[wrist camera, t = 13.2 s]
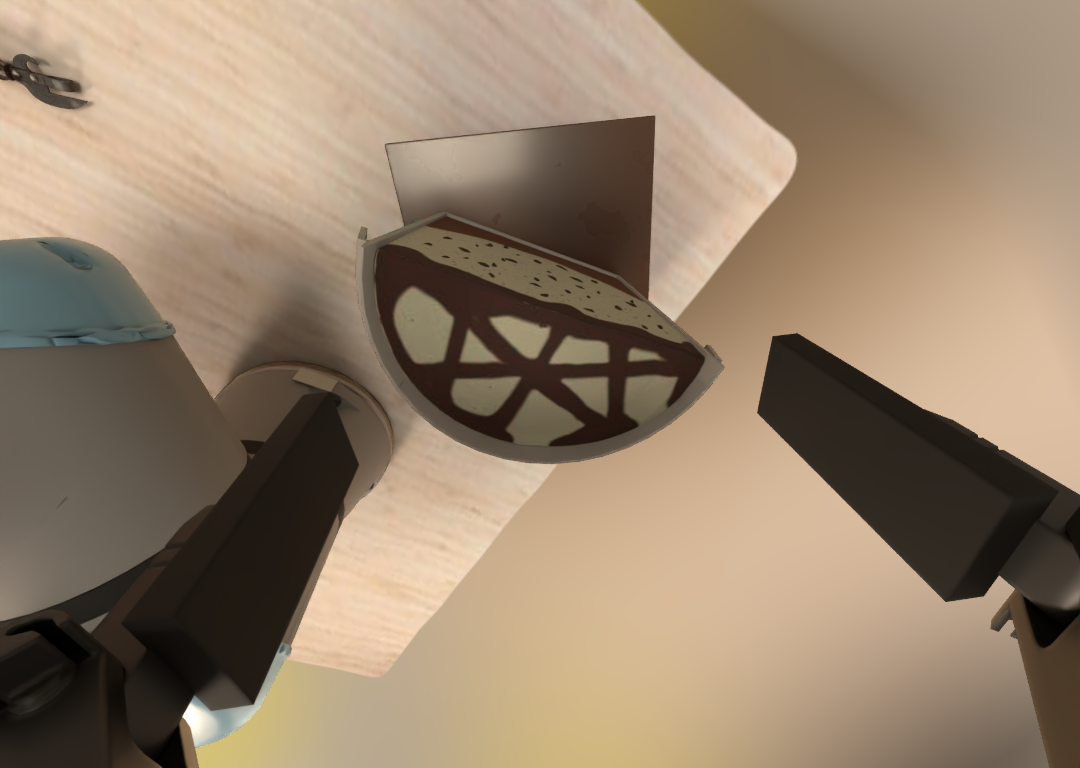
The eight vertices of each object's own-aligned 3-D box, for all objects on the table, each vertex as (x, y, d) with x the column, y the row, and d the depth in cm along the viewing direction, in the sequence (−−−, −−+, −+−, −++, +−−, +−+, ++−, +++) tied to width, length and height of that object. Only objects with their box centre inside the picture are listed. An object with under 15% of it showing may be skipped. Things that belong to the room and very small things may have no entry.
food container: (386, 318, 22) (312, 430, 13) (411, 199, 19) (338, 238, 10) (597, 380, 25) (650, 505, 16) (644, 284, 22) (738, 371, 13)
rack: (465, 345, 36) (452, 425, 25) (426, 146, 28) (384, 143, 18) (602, 329, 36) (644, 400, 26) (599, 128, 29) (655, 115, 18)
